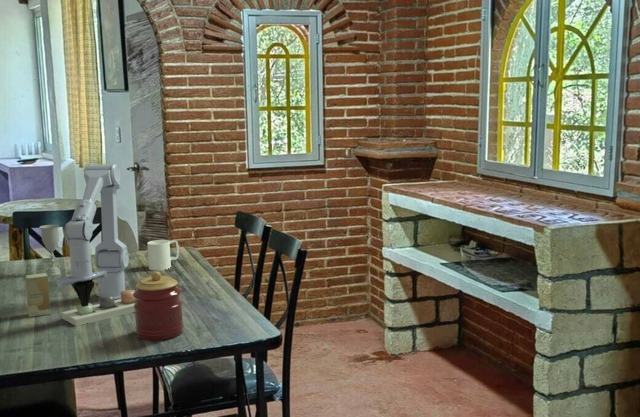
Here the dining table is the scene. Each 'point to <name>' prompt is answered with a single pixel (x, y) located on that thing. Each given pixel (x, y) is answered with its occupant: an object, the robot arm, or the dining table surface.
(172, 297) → the canister
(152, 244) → the cup
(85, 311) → the sage button
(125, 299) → the terracotta button
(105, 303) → the charcoal button
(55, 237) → the chalice
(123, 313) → the panel
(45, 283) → the skincare box
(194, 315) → the dining table surface
